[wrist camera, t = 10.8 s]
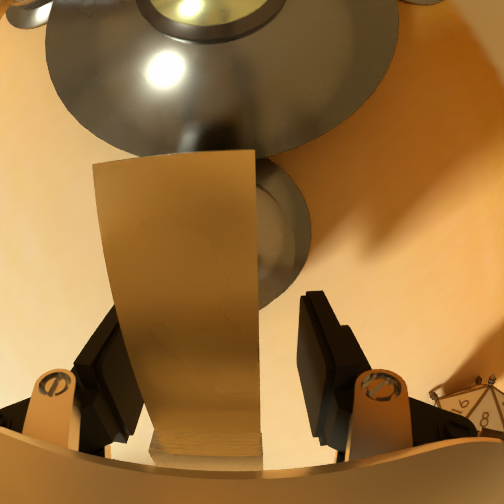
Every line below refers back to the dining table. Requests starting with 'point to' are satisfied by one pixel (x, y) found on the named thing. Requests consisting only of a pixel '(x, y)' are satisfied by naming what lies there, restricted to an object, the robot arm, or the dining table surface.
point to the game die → (476, 404)
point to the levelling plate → (218, 75)
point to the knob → (194, 296)
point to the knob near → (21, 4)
